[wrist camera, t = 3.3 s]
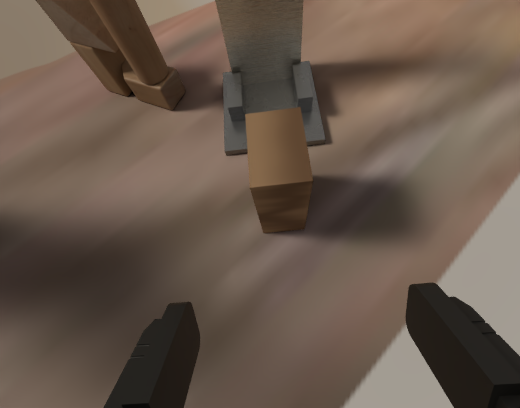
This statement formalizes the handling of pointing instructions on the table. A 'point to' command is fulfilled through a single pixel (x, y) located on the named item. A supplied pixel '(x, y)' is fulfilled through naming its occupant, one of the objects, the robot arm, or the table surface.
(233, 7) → the grey stand
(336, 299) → the table surface
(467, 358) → the robot arm
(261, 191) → the brown rectangular block
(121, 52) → the wooden rod assembly
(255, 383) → the table surface
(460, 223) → the table surface
